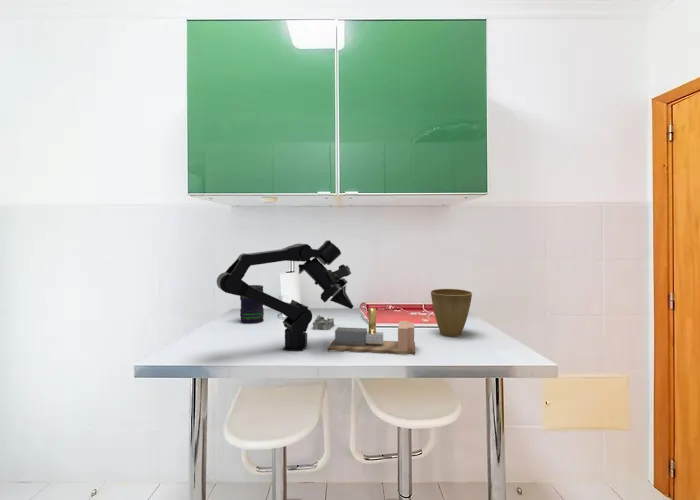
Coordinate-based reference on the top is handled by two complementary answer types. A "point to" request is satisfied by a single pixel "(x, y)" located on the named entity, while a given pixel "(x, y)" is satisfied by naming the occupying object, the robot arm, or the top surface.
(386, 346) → the walnut board
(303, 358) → the top surface
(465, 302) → the plant pot
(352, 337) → the grey rectangular block
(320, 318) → the grey castle model
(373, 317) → the sliding bolt with handle
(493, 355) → the top surface
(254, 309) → the storage jar
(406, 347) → the terracotta socket
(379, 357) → the top surface
